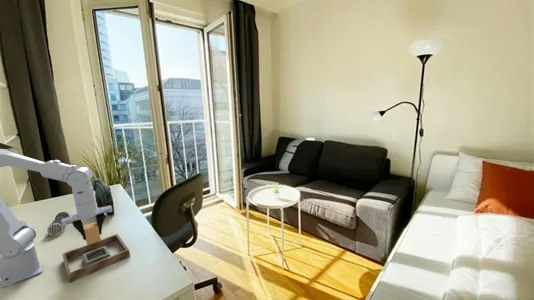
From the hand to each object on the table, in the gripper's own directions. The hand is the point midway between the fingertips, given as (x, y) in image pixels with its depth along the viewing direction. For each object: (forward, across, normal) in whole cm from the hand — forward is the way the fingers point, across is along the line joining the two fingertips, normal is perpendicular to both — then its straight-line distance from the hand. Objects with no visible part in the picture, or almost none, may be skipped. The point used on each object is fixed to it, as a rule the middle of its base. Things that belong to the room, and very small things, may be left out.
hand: (92, 236), depth 89 cm
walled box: (+9, 0, 0) cm, 9 cm away
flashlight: (+10, +7, -41) cm, 43 cm away
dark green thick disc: (+10, -12, -45) cm, 48 cm away
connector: (+2, 0, 0) cm, 2 cm away
